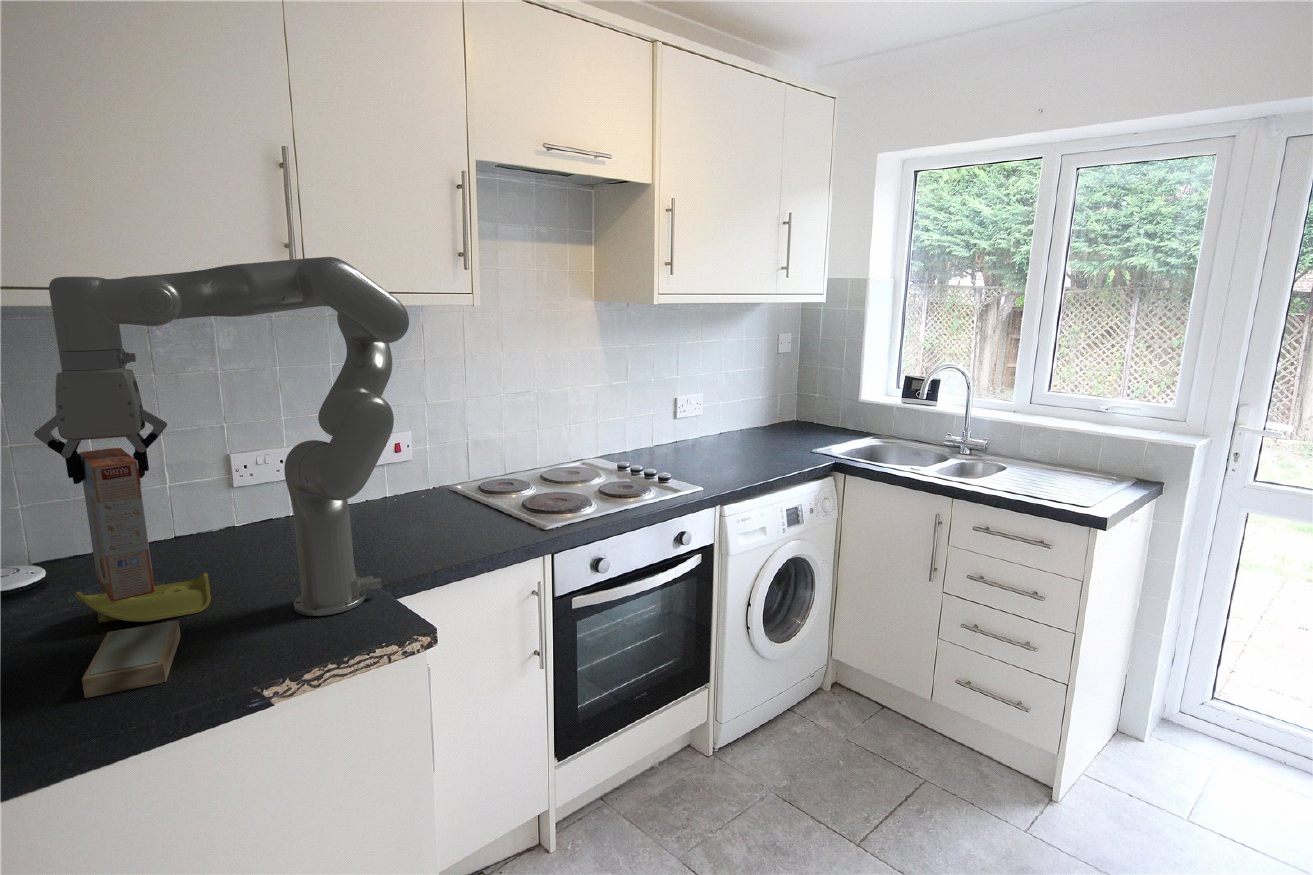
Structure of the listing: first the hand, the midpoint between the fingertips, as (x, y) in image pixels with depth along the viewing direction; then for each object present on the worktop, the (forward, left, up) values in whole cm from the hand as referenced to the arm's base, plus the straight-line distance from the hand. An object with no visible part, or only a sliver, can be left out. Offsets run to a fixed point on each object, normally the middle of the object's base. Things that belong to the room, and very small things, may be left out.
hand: (110, 478), depth 111 cm
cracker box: (0, 0, -17) cm, 17 cm away
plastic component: (+2, -23, -31) cm, 39 cm away
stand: (0, 0, -31) cm, 31 cm away
